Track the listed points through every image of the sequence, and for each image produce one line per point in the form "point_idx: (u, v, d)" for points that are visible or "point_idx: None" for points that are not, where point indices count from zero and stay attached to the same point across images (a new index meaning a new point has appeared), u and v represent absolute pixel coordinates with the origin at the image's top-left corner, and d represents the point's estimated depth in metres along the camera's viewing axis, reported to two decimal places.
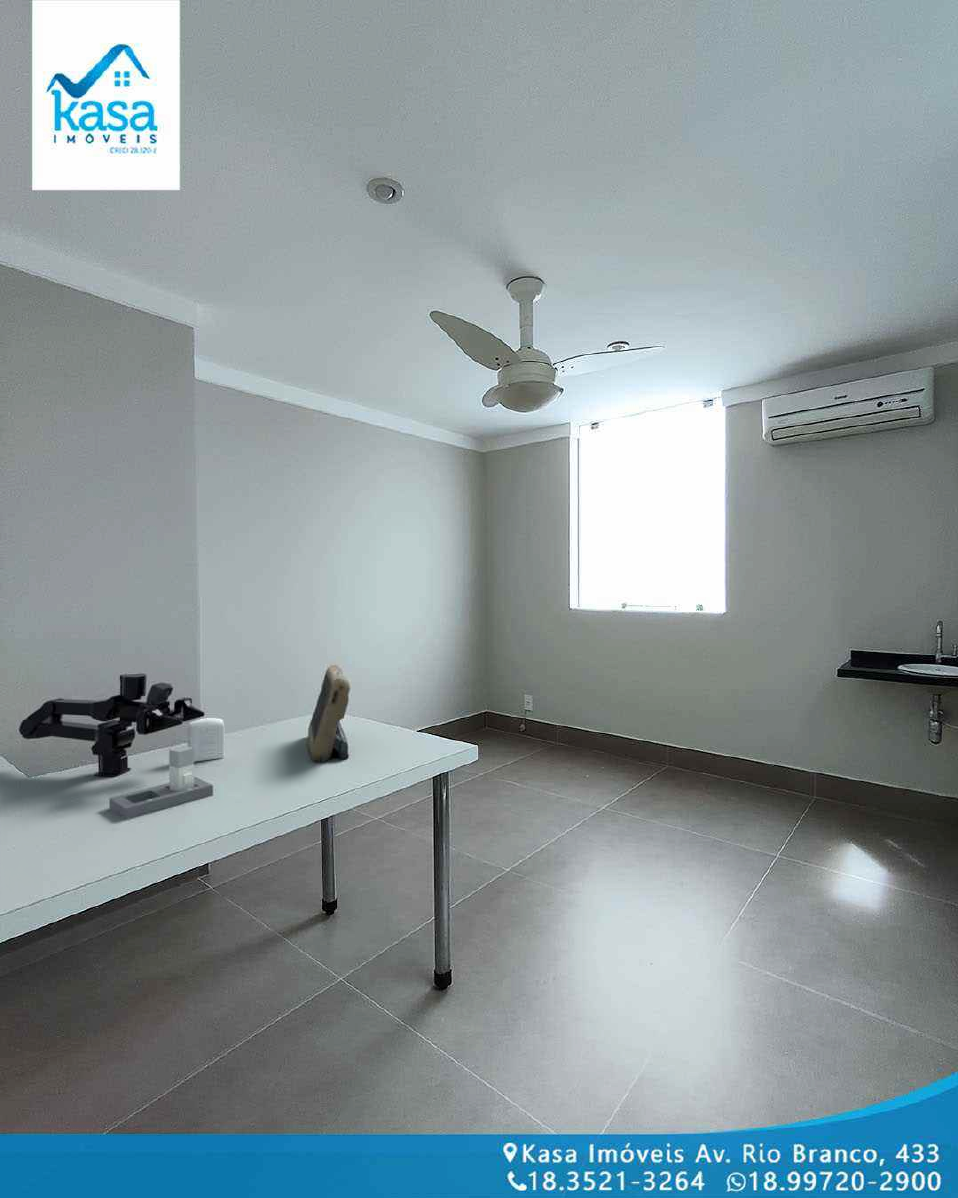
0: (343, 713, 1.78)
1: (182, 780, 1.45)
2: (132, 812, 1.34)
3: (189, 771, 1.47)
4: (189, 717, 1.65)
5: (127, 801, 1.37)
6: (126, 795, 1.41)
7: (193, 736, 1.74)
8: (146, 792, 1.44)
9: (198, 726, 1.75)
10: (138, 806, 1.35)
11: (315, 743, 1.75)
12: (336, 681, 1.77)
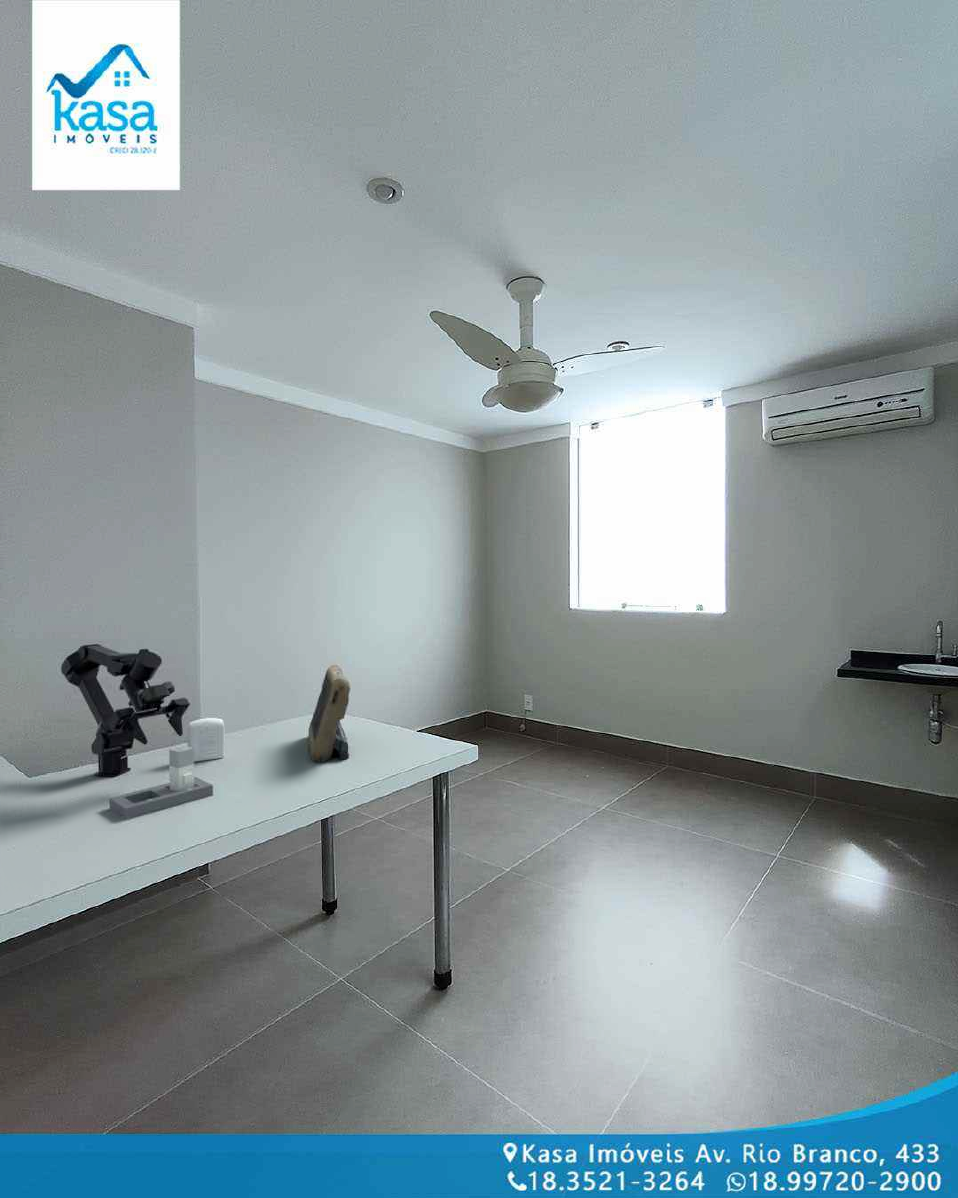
0: (343, 713, 1.78)
1: (182, 780, 1.45)
2: (132, 812, 1.34)
3: (189, 771, 1.47)
4: (172, 724, 1.57)
5: (127, 801, 1.37)
6: (126, 795, 1.41)
7: (193, 736, 1.74)
8: (146, 792, 1.44)
9: (198, 726, 1.75)
10: (138, 806, 1.35)
11: (315, 743, 1.75)
12: (336, 681, 1.77)
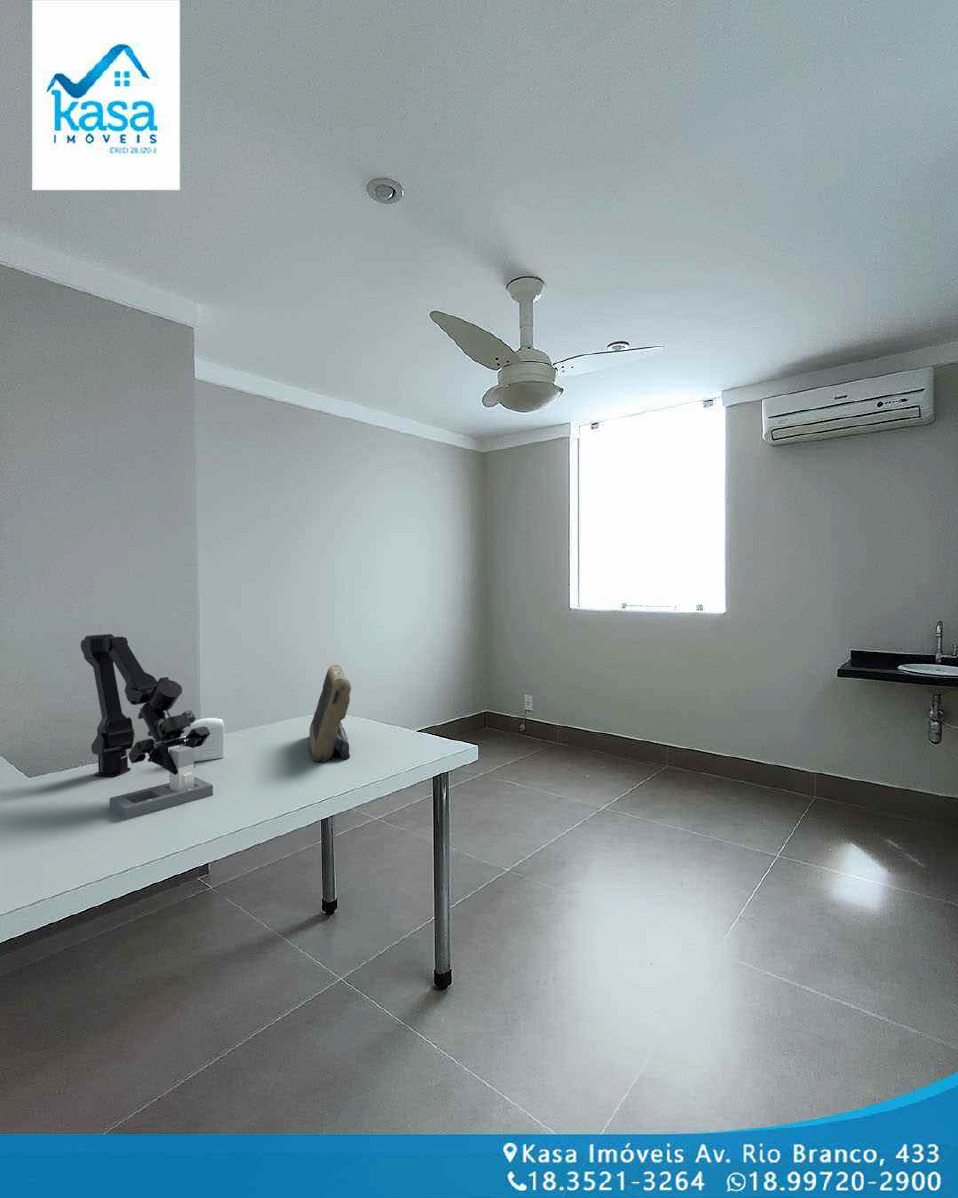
0: (344, 713, 1.78)
1: (182, 780, 1.45)
2: (132, 812, 1.34)
3: (189, 771, 1.47)
4: None
5: (127, 801, 1.37)
6: (126, 795, 1.41)
7: None
8: (146, 792, 1.44)
9: (198, 726, 1.75)
10: (138, 806, 1.35)
11: (316, 743, 1.75)
12: (337, 681, 1.77)
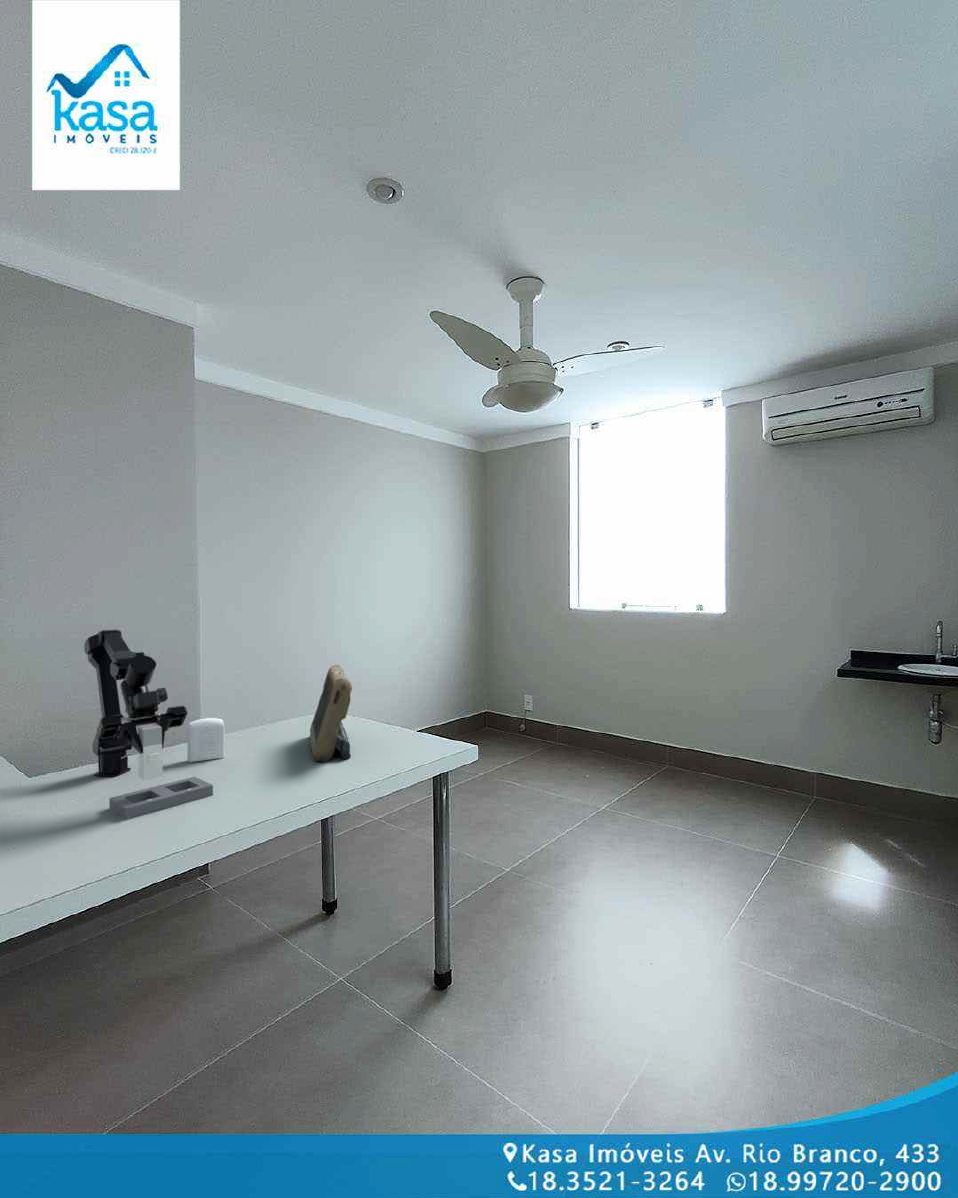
0: (345, 713, 1.78)
1: (147, 760, 1.39)
2: (132, 812, 1.34)
3: (156, 751, 1.40)
4: None
5: (127, 801, 1.37)
6: (126, 795, 1.41)
7: (193, 736, 1.74)
8: (146, 792, 1.44)
9: (198, 726, 1.75)
10: (138, 806, 1.35)
11: (317, 743, 1.75)
12: (338, 681, 1.77)
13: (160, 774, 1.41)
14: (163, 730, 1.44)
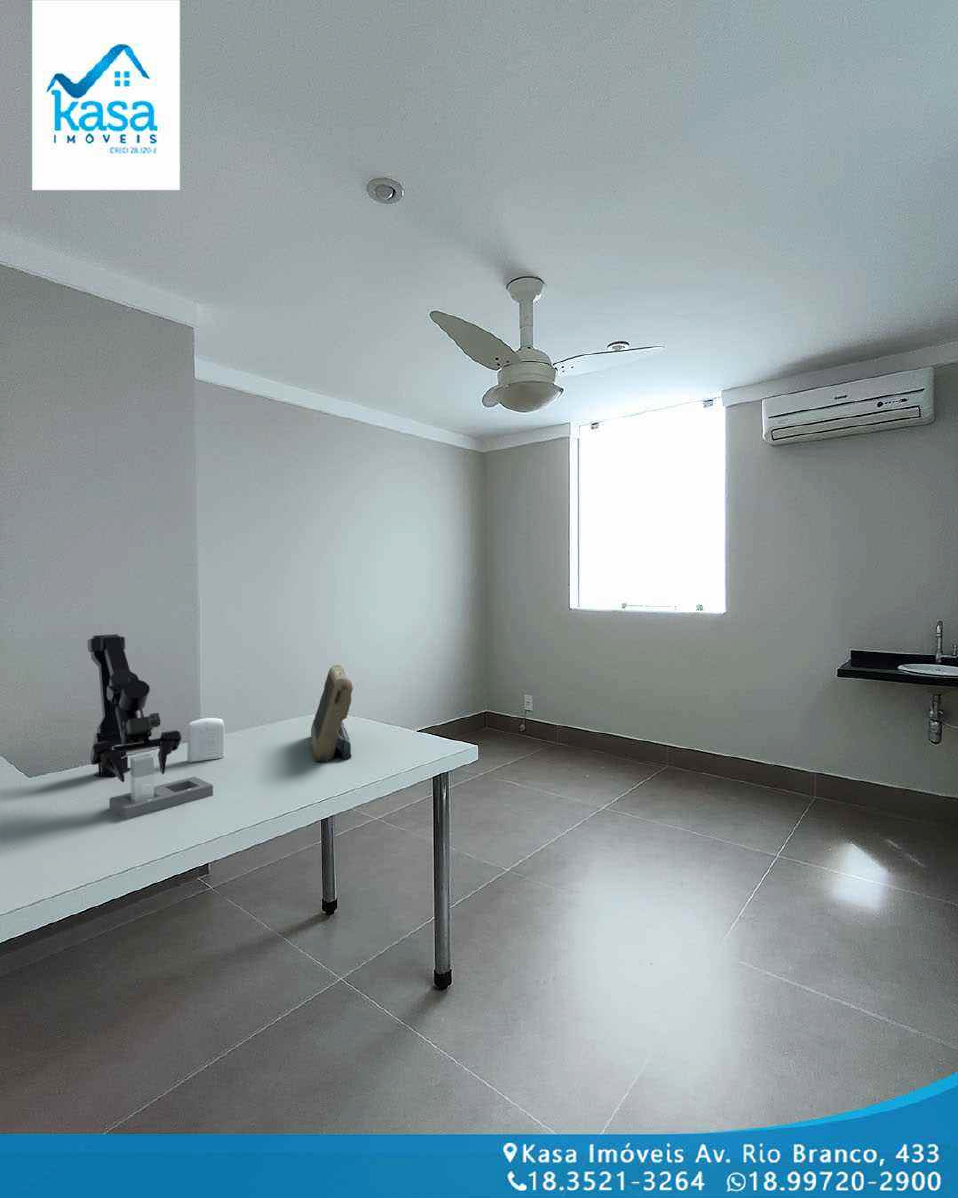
0: (346, 713, 1.78)
1: (139, 790, 1.38)
2: (132, 812, 1.34)
3: (148, 781, 1.39)
4: (159, 759, 1.45)
5: (127, 801, 1.37)
6: (126, 795, 1.41)
7: (193, 736, 1.74)
8: None
9: (198, 726, 1.75)
10: (138, 806, 1.35)
11: (318, 743, 1.75)
12: (339, 681, 1.77)
13: None
14: (165, 754, 1.44)
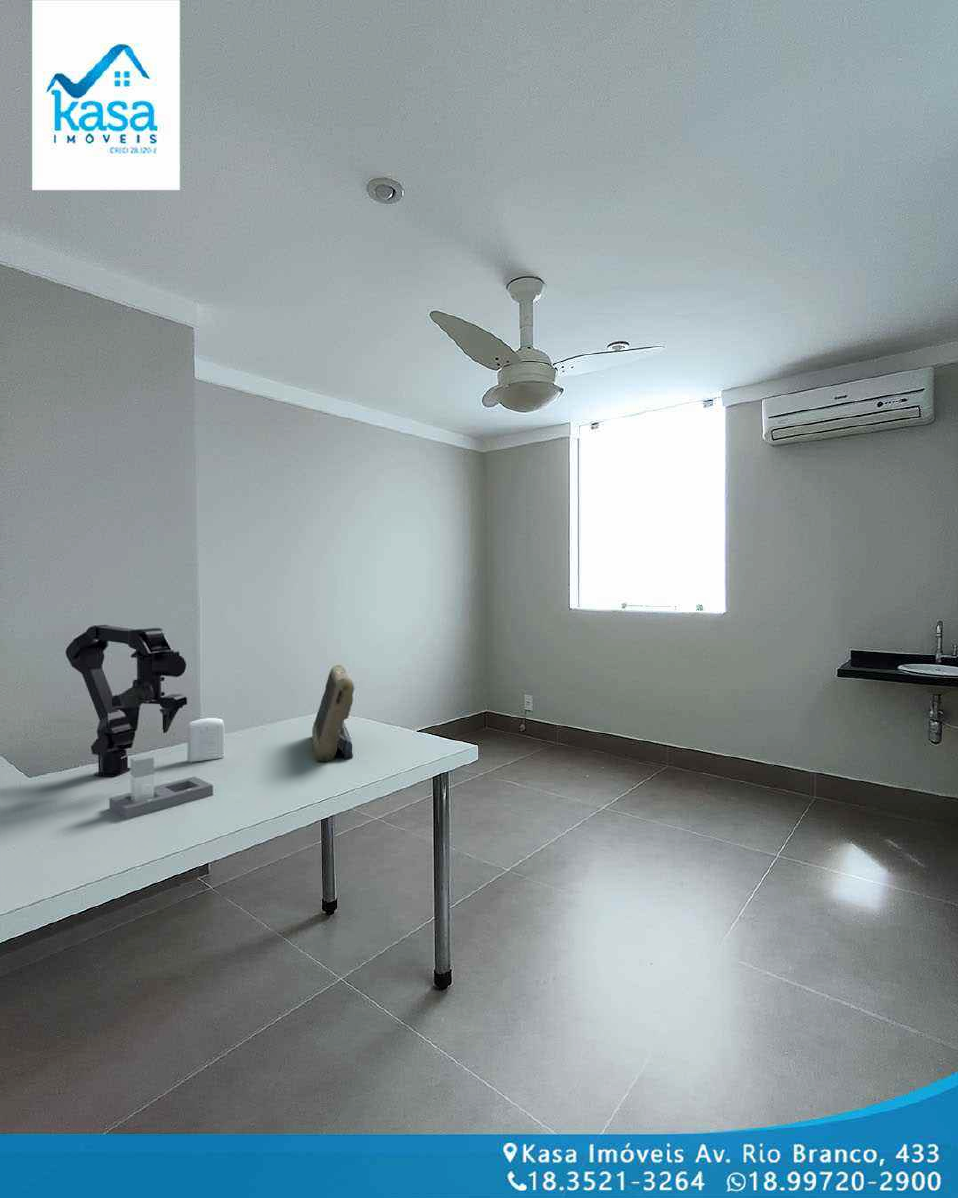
0: (347, 713, 1.78)
1: (139, 790, 1.38)
2: (132, 812, 1.34)
3: (148, 781, 1.39)
4: None
5: (127, 801, 1.37)
6: (126, 795, 1.41)
7: (193, 736, 1.74)
8: None
9: (198, 726, 1.75)
10: (138, 806, 1.35)
11: (319, 743, 1.75)
12: (340, 681, 1.77)
13: None
14: (165, 718, 1.57)
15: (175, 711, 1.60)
